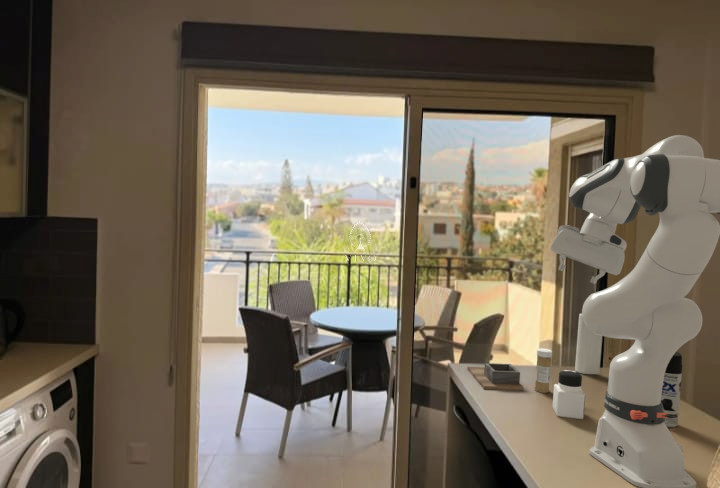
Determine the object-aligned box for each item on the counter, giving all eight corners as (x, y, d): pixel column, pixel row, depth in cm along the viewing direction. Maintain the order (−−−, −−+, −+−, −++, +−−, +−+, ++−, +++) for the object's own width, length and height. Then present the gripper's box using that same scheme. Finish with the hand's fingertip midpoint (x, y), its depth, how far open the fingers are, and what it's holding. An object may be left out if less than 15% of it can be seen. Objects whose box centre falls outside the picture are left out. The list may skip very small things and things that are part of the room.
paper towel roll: (571, 370, 186) (575, 313, 185) (582, 368, 189) (587, 312, 187) (587, 376, 179) (592, 317, 178) (599, 374, 182) (604, 316, 181)
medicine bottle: (583, 419, 140) (587, 377, 139) (556, 416, 141) (559, 374, 140) (578, 410, 147) (581, 369, 146) (552, 407, 148) (555, 367, 147)
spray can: (650, 424, 139) (656, 353, 137) (649, 416, 145) (655, 347, 143) (678, 430, 136) (685, 357, 134) (676, 421, 142) (682, 351, 140)
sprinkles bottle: (539, 387, 165) (542, 347, 164) (552, 391, 161) (555, 350, 161) (531, 390, 162) (534, 348, 161) (544, 394, 159) (547, 352, 158)
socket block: (523, 390, 161) (524, 374, 161) (483, 388, 161) (484, 373, 160) (502, 370, 181) (503, 356, 181) (467, 369, 181) (468, 355, 180)
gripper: (560, 219, 152) (541, 261, 152) (631, 244, 141) (611, 288, 141) (562, 225, 157) (544, 265, 157) (631, 249, 147) (611, 292, 147)
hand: (576, 276), depth 149 cm, fingers open, 8 cm apart
